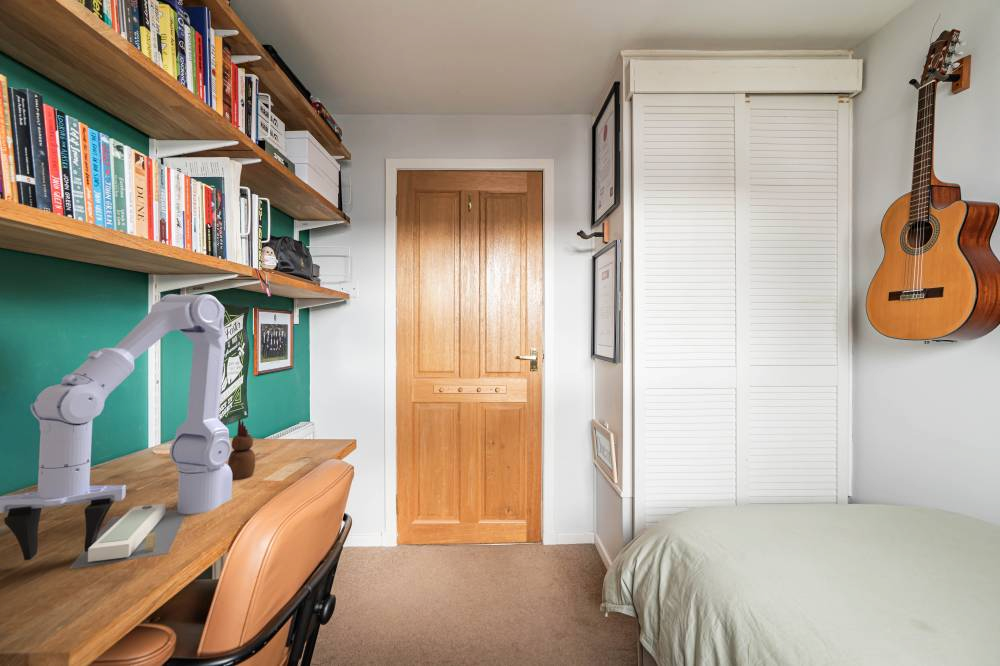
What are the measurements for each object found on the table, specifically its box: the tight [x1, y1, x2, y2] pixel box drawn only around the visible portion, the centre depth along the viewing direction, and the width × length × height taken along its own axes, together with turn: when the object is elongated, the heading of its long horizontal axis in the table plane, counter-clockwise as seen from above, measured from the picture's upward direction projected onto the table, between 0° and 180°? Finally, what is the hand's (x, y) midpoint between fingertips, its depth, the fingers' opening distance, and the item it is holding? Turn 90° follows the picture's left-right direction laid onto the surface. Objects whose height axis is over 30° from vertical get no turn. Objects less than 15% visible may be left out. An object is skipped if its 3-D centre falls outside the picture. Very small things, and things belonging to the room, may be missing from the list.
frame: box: [88, 503, 166, 562], centre depth 77 cm, size 18×5×2 cm, turn 22°
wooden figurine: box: [227, 418, 256, 480], centre depth 112 cm, size 7×6×15 cm
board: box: [68, 508, 187, 570], centre depth 78 cm, size 21×12×4 cm, turn 27°
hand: (61, 552), depth 68 cm, fingers open, 6 cm apart
